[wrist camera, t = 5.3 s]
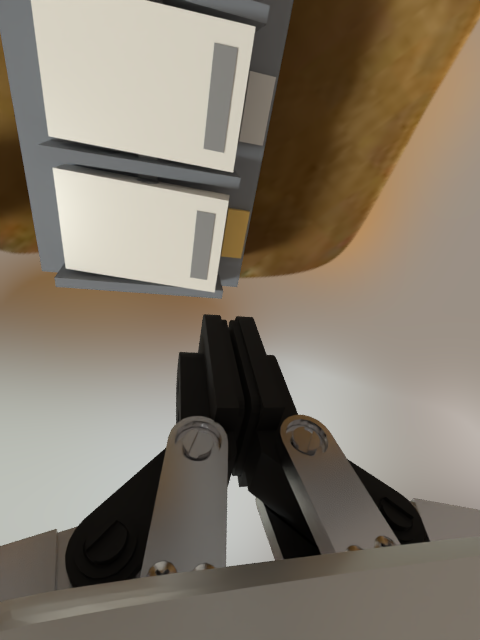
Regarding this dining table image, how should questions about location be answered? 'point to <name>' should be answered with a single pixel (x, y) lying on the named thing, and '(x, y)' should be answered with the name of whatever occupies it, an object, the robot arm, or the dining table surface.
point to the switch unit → (47, 152)
